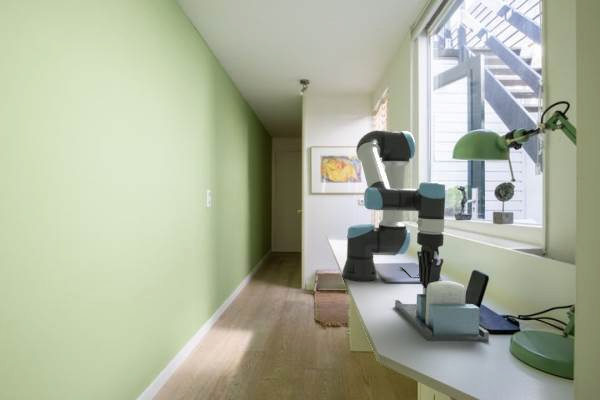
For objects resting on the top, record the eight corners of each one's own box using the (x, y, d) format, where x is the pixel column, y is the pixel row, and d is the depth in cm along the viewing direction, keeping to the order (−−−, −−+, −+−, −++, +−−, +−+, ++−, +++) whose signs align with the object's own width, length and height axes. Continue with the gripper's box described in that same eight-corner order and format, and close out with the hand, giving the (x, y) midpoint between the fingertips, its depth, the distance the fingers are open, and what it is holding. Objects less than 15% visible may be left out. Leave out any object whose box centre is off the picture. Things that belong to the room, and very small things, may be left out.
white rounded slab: (458, 322, 90) (459, 279, 90) (467, 329, 86) (468, 283, 86) (422, 322, 90) (424, 278, 90) (429, 329, 86) (431, 283, 85)
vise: (395, 306, 105) (395, 282, 105) (442, 307, 106) (443, 283, 106) (427, 340, 81) (428, 309, 81) (488, 340, 82) (489, 309, 82)
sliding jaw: (416, 317, 93) (416, 294, 93) (456, 318, 94) (457, 294, 93) (420, 322, 90) (421, 297, 90) (462, 322, 91) (463, 297, 90)
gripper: (410, 229, 105) (407, 300, 106) (427, 235, 92) (424, 316, 93) (432, 230, 105) (429, 300, 106) (453, 235, 92) (450, 316, 93)
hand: (427, 307), depth 99 cm, fingers closed
